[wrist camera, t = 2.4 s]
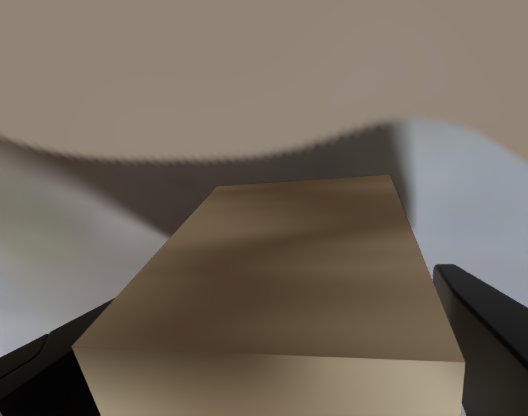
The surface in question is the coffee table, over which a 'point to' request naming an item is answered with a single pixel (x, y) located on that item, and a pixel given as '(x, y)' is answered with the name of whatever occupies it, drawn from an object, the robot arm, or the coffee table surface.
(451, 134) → the coffee table surface
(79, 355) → the beech block
